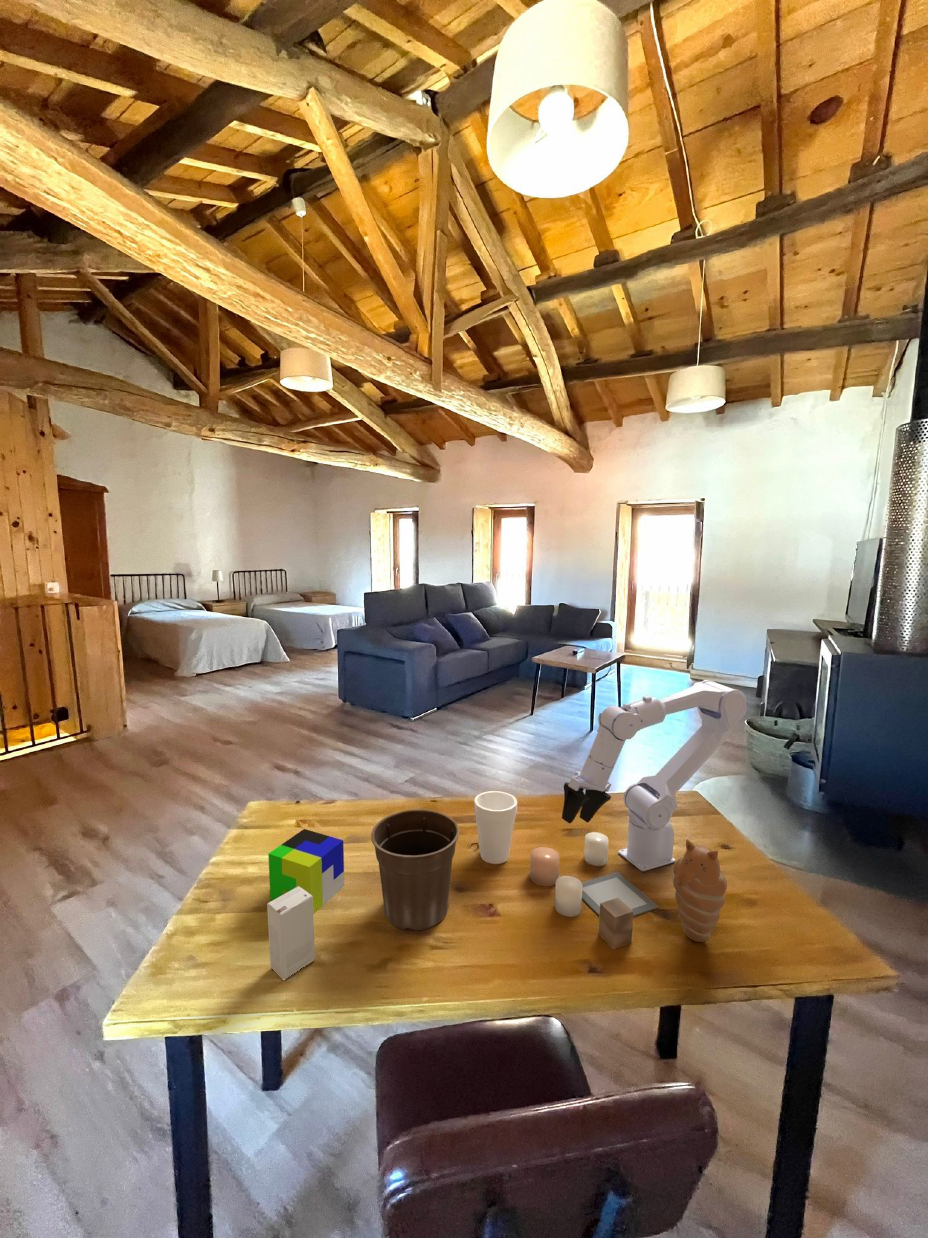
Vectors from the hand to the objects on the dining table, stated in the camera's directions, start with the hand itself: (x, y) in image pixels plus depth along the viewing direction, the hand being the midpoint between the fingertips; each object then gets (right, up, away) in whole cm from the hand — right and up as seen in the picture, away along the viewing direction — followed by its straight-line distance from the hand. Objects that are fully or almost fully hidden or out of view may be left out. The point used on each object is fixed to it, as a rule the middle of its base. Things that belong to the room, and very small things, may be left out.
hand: (575, 820), depth 114 cm
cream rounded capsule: (-4, -13, -10) cm, 17 cm away
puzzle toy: (-54, -12, -7) cm, 56 cm away
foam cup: (-17, -11, +6) cm, 21 cm away
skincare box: (-52, -15, -25) cm, 59 cm away
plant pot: (-33, -13, -11) cm, 37 cm away
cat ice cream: (+18, -14, -18) cm, 29 cm away
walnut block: (+3, -14, -18) cm, 23 cm away
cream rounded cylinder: (+6, -11, +6) cm, 13 cm away
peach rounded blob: (-7, -12, -1) cm, 13 cm away
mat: (+6, -12, -7) cm, 16 cm away
